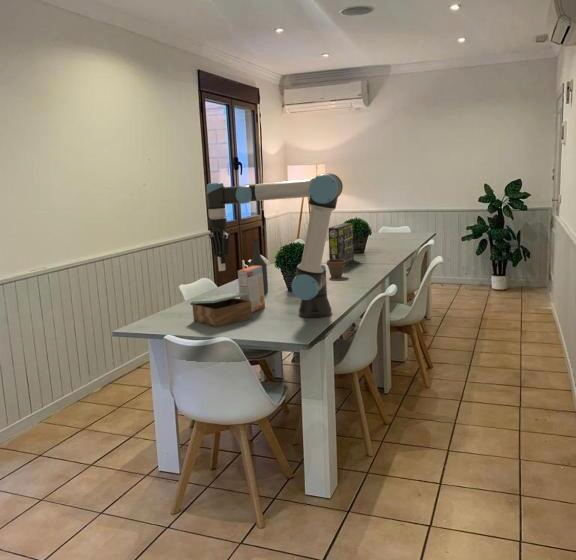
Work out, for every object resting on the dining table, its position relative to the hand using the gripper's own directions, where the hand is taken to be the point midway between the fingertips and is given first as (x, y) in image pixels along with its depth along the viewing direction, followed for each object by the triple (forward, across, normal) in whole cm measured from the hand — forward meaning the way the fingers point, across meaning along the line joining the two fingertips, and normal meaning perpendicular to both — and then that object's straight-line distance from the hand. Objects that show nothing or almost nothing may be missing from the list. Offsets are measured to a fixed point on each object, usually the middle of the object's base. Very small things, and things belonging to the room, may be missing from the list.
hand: (222, 270), depth 263 cm
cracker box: (+24, +5, -20) cm, 31 cm away
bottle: (+23, +35, -48) cm, 64 cm away
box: (+24, +58, -140) cm, 153 cm away
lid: (+13, +2, 0) cm, 14 cm away
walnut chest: (+23, +2, 0) cm, 23 cm away
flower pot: (+24, +29, -104) cm, 110 cm away
